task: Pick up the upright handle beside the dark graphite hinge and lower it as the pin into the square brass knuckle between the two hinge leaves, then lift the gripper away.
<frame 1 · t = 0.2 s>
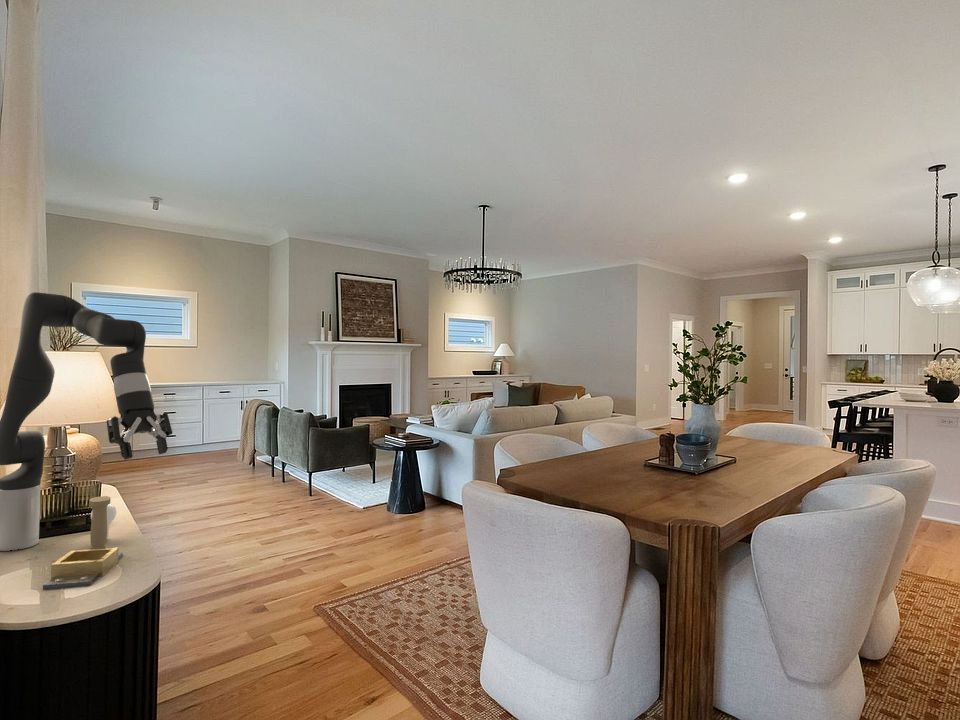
hand: (146, 456, 127), 31 cm above the table, tool tilted 20°, fingers open, 8 cm apart
lightbulb: (102, 540, 155), on the table
handle: (98, 552, 146), on the table
hinge: (86, 571, 132), on the table
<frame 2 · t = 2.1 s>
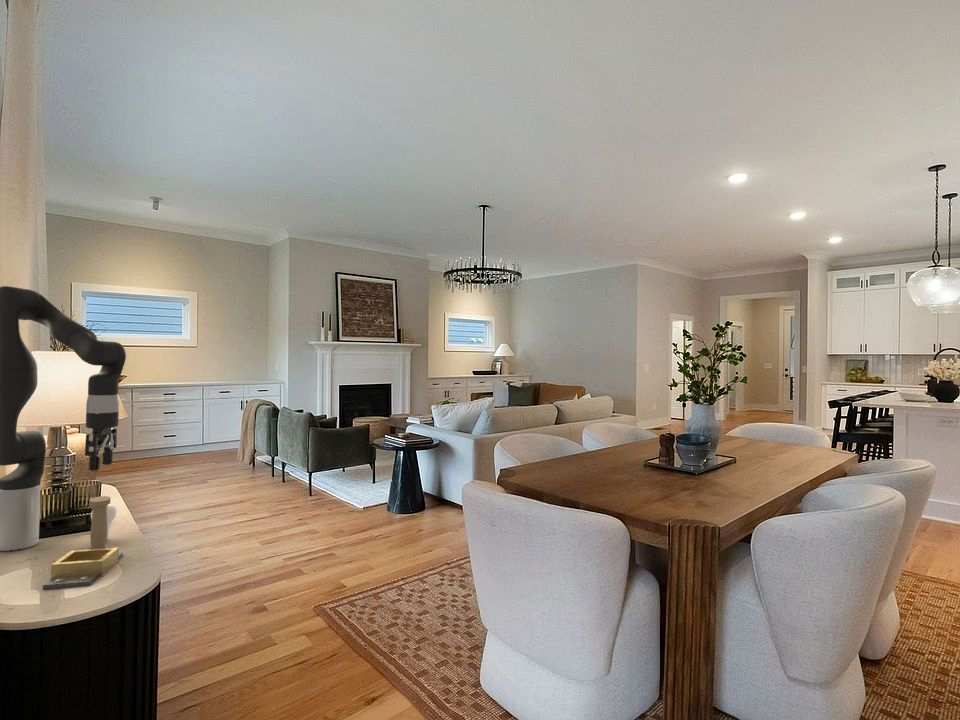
hand: (100, 467, 146), 24 cm above the table, tool pointing down, fingers open, 8 cm apart
nothing on the table moved.
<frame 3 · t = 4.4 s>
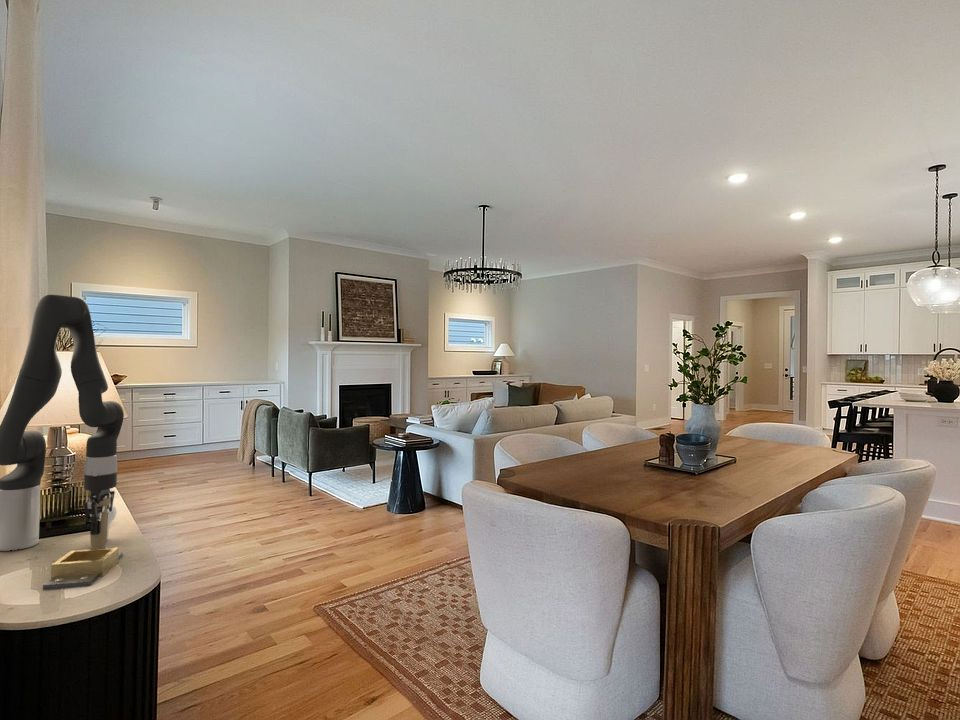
hand: (99, 531, 146), 6 cm above the table, tool pointing down, fingers closed on handle, 4 cm apart
handle: (98, 552, 146), on the table, touching gripper
everything else where it was.
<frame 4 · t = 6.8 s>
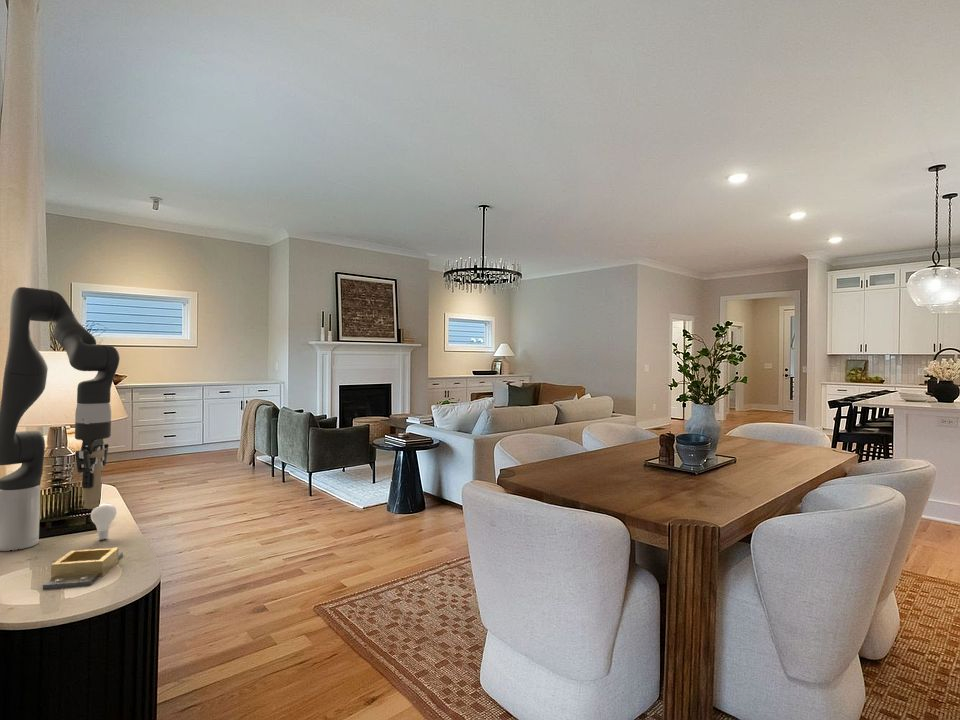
hand: (91, 485, 134), 22 cm above the table, tool pointing down, fingers closed on handle, 4 cm apart
handle: (91, 508, 134), point 16 cm above the table, touching gripper
everything else where it was.
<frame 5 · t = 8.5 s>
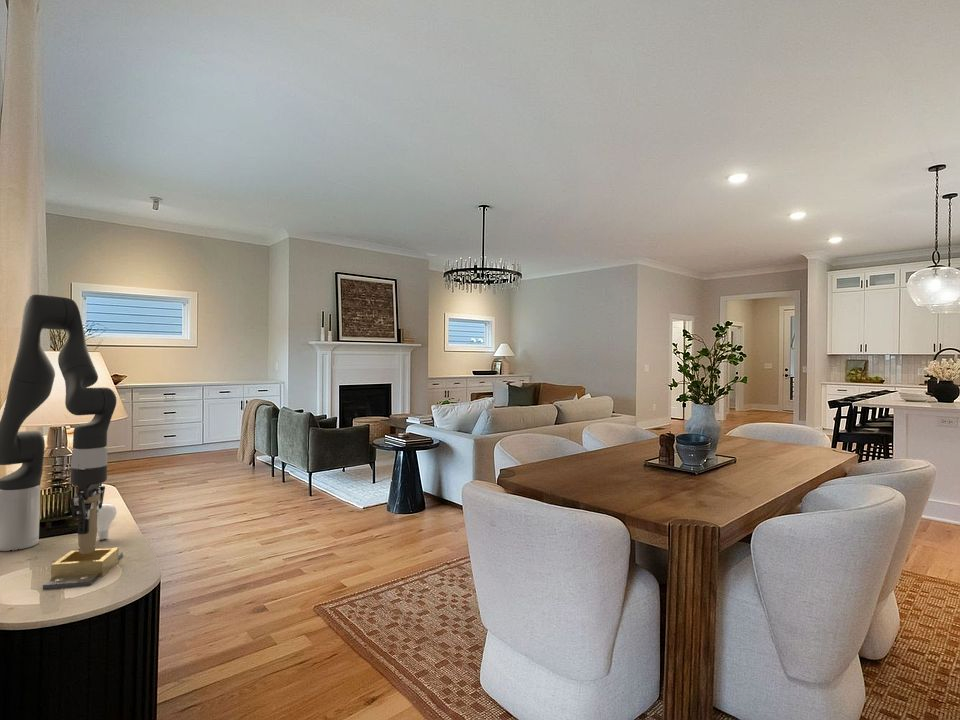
hand: (87, 530, 132), 10 cm above the table, tool pointing down, fingers closed on handle, 4 cm apart
handle: (86, 553, 132), point 4 cm above the table, touching gripper
everything else where it was.
when the fingers open (7 cm above the table, at t = 9.5 s): handle drops 1 cm, resting in hinge.
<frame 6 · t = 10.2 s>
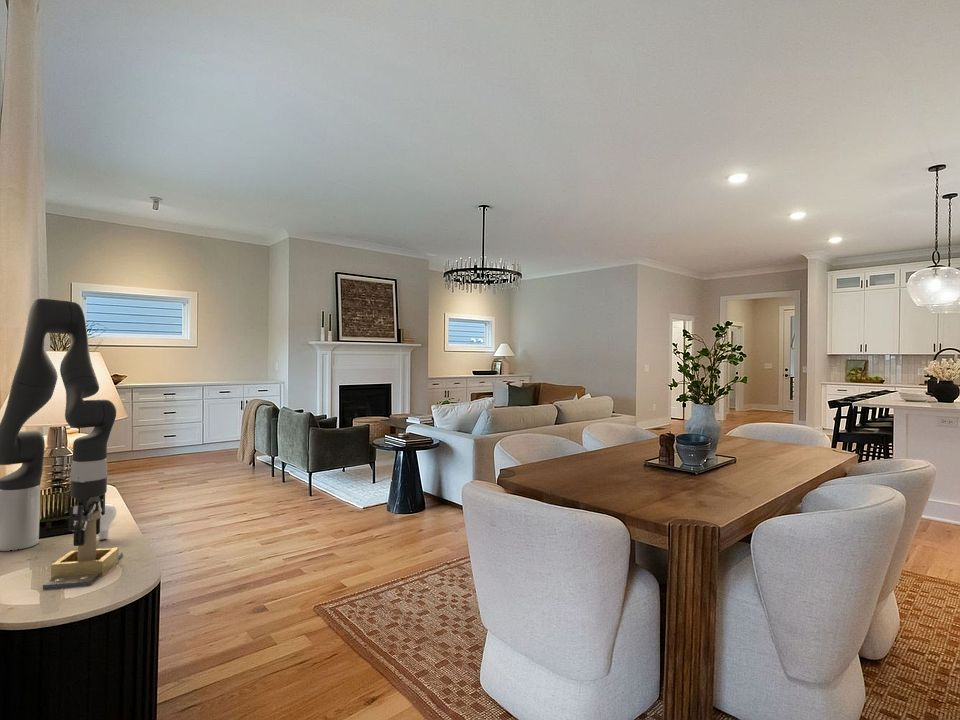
hand: (87, 539, 132), 8 cm above the table, tool pointing down, fingers open, 8 cm apart
handle: (86, 571, 132), resting in hinge
everything else where it was.
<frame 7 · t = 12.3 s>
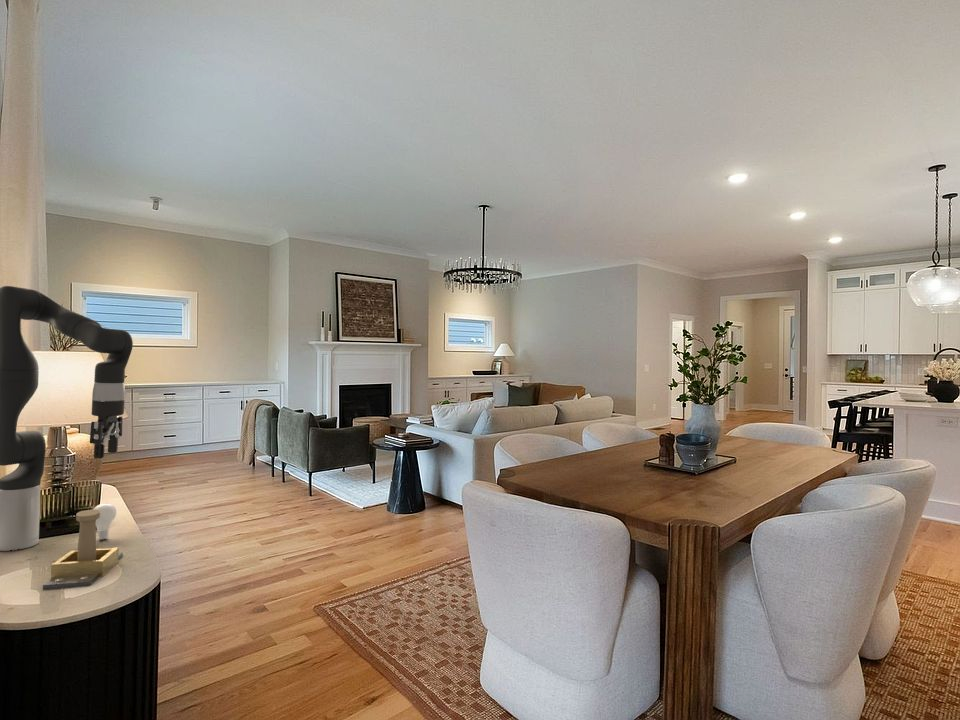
hand: (105, 455, 146), 28 cm above the table, tool pointing down, fingers open, 8 cm apart
nothing on the table moved.
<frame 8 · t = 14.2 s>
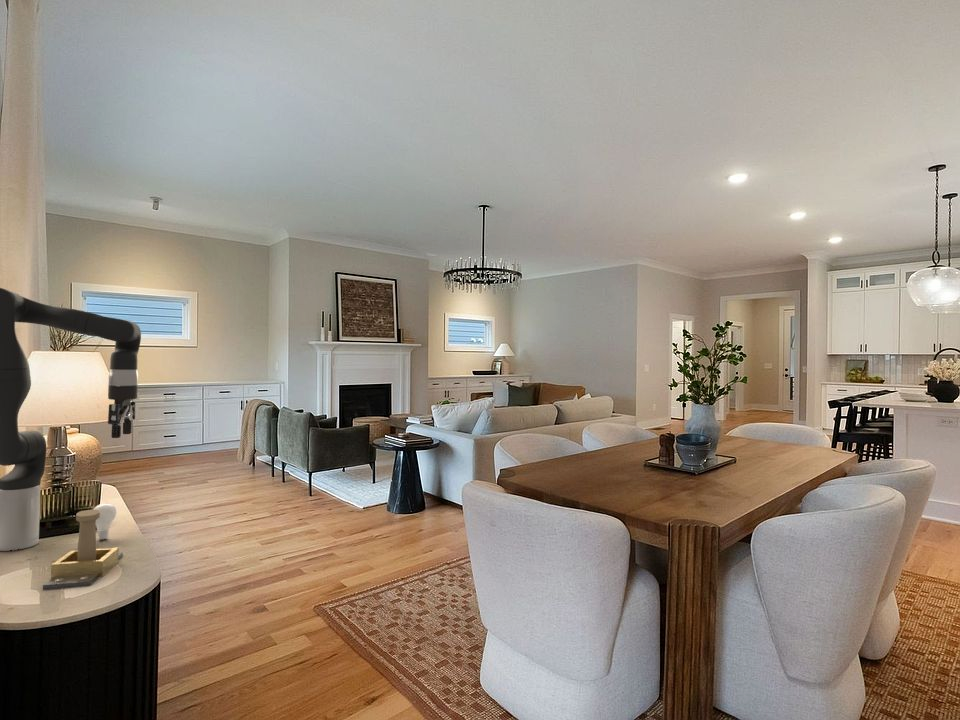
hand: (121, 435, 160), 31 cm above the table, tool pointing down, fingers open, 8 cm apart
nothing on the table moved.
at the end: handle 0.2 cm off-centre on the hinge, point 0.0 cm above the hinge's base; handle tilted 0°; the gripper is holding nothing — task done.
